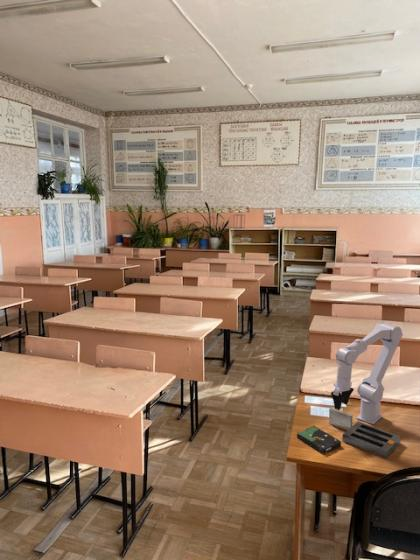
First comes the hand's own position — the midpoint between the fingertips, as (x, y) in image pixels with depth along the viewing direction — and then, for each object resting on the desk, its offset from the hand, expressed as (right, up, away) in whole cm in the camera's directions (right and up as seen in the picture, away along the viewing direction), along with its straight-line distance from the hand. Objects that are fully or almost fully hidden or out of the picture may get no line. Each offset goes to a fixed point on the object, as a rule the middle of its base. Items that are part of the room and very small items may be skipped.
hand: (340, 406), depth 183 cm
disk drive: (-12, -12, -9) cm, 19 cm away
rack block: (+9, -12, -10) cm, 18 cm away
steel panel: (0, -10, +2) cm, 10 cm away
